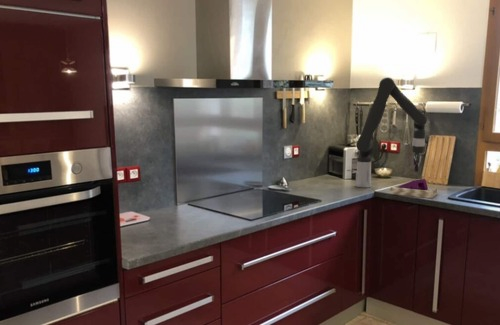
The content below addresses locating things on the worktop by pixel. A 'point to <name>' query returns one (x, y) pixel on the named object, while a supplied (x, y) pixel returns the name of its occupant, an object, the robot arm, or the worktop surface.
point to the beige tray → (414, 192)
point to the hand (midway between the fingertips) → (416, 171)
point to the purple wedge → (415, 185)
